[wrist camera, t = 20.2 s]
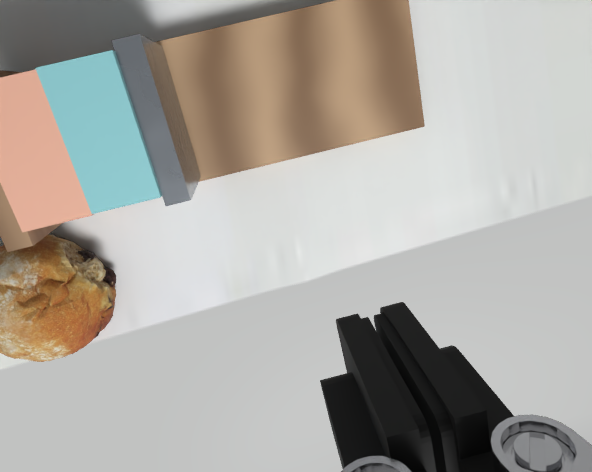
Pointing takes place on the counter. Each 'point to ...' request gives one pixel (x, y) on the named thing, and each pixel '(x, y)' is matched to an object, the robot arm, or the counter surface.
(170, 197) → the bookend
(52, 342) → the bread roll
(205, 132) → the wooden book rack
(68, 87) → the teal rectangular block
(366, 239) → the counter surface
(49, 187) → the salmon pink block
